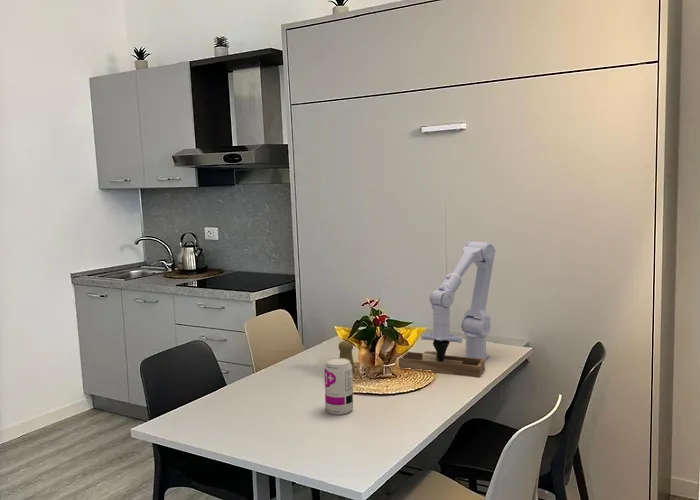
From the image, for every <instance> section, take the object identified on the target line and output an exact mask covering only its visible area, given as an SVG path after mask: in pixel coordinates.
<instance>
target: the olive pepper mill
mask: <svg viewBox="0 0 700 500" xmlns="http://www.w3.org/2000/svg"><path fill="white" fill-rule="evenodd" d="M346 341H347V340H343V341H340V342H339V343H338V350H339V357H338V358H345V359H348V360H350V363H351V365H352V375H353V374H355V372H356V371H355V364H354V357H353V349H354V344H353V343H352V344H353V345H352V344H350V343H348V342H346Z"/></svg>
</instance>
